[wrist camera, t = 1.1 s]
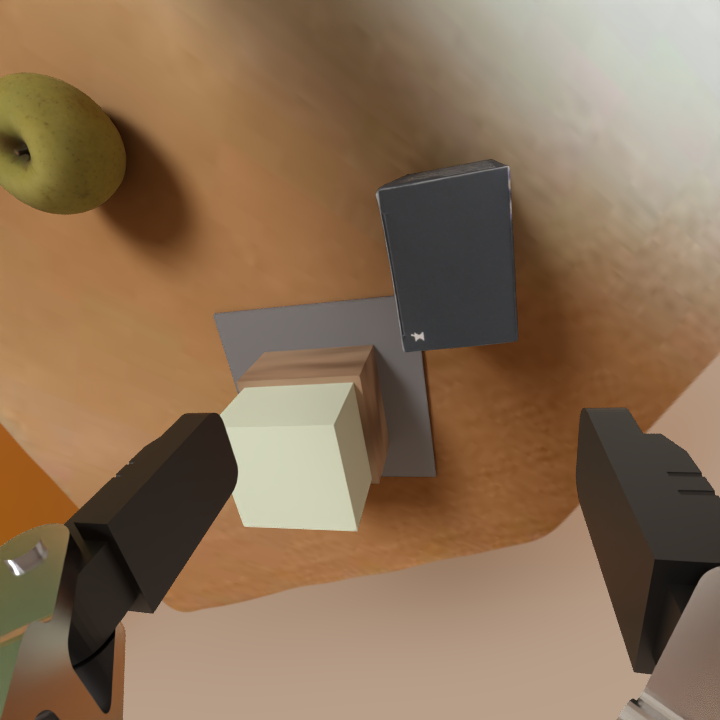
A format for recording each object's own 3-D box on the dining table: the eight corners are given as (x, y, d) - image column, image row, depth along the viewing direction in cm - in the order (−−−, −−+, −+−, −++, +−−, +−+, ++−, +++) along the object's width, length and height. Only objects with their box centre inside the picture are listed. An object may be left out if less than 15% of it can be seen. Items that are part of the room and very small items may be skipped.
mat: (215, 313, 35) (213, 315, 35) (415, 293, 31) (414, 295, 31) (265, 472, 42) (263, 475, 41) (436, 473, 38) (435, 476, 37)
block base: (264, 352, 35) (236, 381, 31) (373, 344, 33) (359, 375, 29) (289, 444, 39) (267, 482, 35) (389, 443, 37) (379, 483, 32)
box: (502, 282, 30) (520, 345, 20) (418, 292, 31) (399, 355, 22) (495, 155, 27) (512, 162, 17) (402, 173, 28) (372, 189, 19)
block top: (244, 387, 31) (208, 427, 27) (353, 382, 29) (333, 424, 25) (272, 477, 34) (244, 526, 30) (371, 478, 32) (357, 531, 28)
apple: (100, 222, 34) (17, 240, 28) (30, 117, 32) (-78, 111, 25) (170, 176, 31) (96, 184, 25) (99, 56, 29) (-2, 32, 22)
